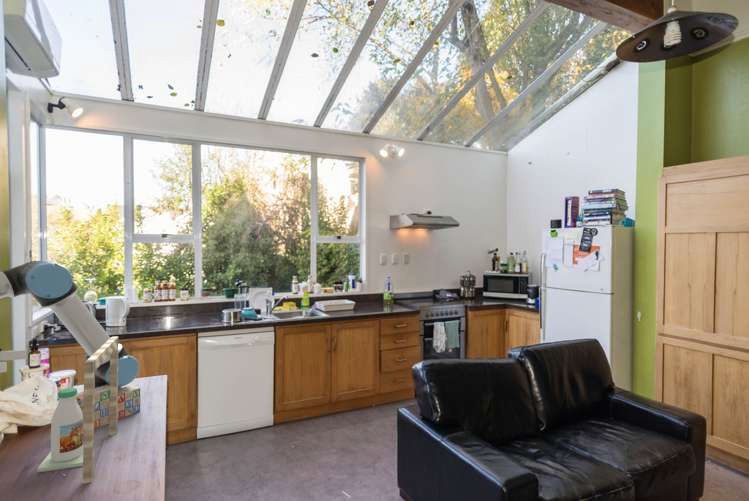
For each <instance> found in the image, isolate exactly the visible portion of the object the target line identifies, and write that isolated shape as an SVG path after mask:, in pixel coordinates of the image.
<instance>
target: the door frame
mask: <svg viewBox="0 0 749 501" xmlns="http://www.w3.org/2000/svg"><path fill="white" fill-rule="evenodd" d="M118 344H119V336H111V337H110V339H109V340H108V341H107V342H106V343H105V344H104V345H103V346H101V347H100V348H99V349H98V350H97V351H96V352H95V353H94V354H93V355H92V356H91V357H90V358H89V359H88V360H87V361H85V360H84V361H85V362H84V364H83V367H84V368H83V391H84V423H83V466H82V485H85V484H91V483H93V481H94V471H95V469H94V468H95V467H94V462H95V458H94V457H95V429H94V396H95V370H96V369H97V368H98V367H99V366H100V365H101V364H102V363H103V361H104V360H105V359H106V358H107V357H108V356H109V355H110V409H109V423H108V425H109V426H108V427H109V428H108V431H109V432H108V433H109V436H114V435H117V432H118V420H117V417H118Z"/></svg>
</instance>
